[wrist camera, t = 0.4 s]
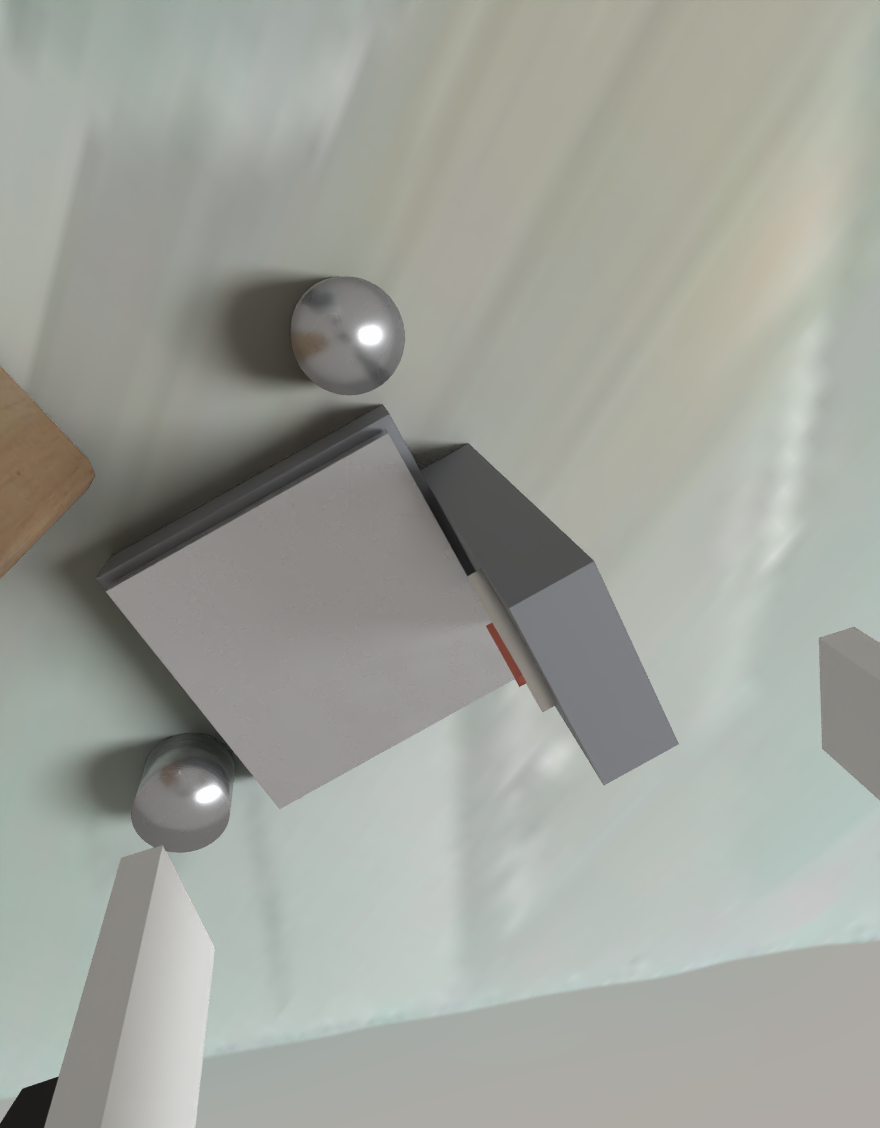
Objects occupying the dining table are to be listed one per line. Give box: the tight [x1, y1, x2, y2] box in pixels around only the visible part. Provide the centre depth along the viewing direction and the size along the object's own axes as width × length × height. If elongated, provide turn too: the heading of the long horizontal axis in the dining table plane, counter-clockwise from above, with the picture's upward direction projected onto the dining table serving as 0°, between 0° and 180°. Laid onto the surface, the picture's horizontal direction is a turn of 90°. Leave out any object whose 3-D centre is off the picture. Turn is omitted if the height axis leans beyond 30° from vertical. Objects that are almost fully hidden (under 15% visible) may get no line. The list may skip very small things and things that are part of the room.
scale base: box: [96, 404, 679, 785], centre depth 33 cm, size 16×19×18 cm
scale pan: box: [106, 429, 515, 809], centre depth 39 cm, size 15×15×4 cm
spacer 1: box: [131, 733, 235, 852], centre depth 42 cm, size 5×5×4 cm
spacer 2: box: [291, 277, 405, 395], centre depth 35 cm, size 5×5×4 cm
